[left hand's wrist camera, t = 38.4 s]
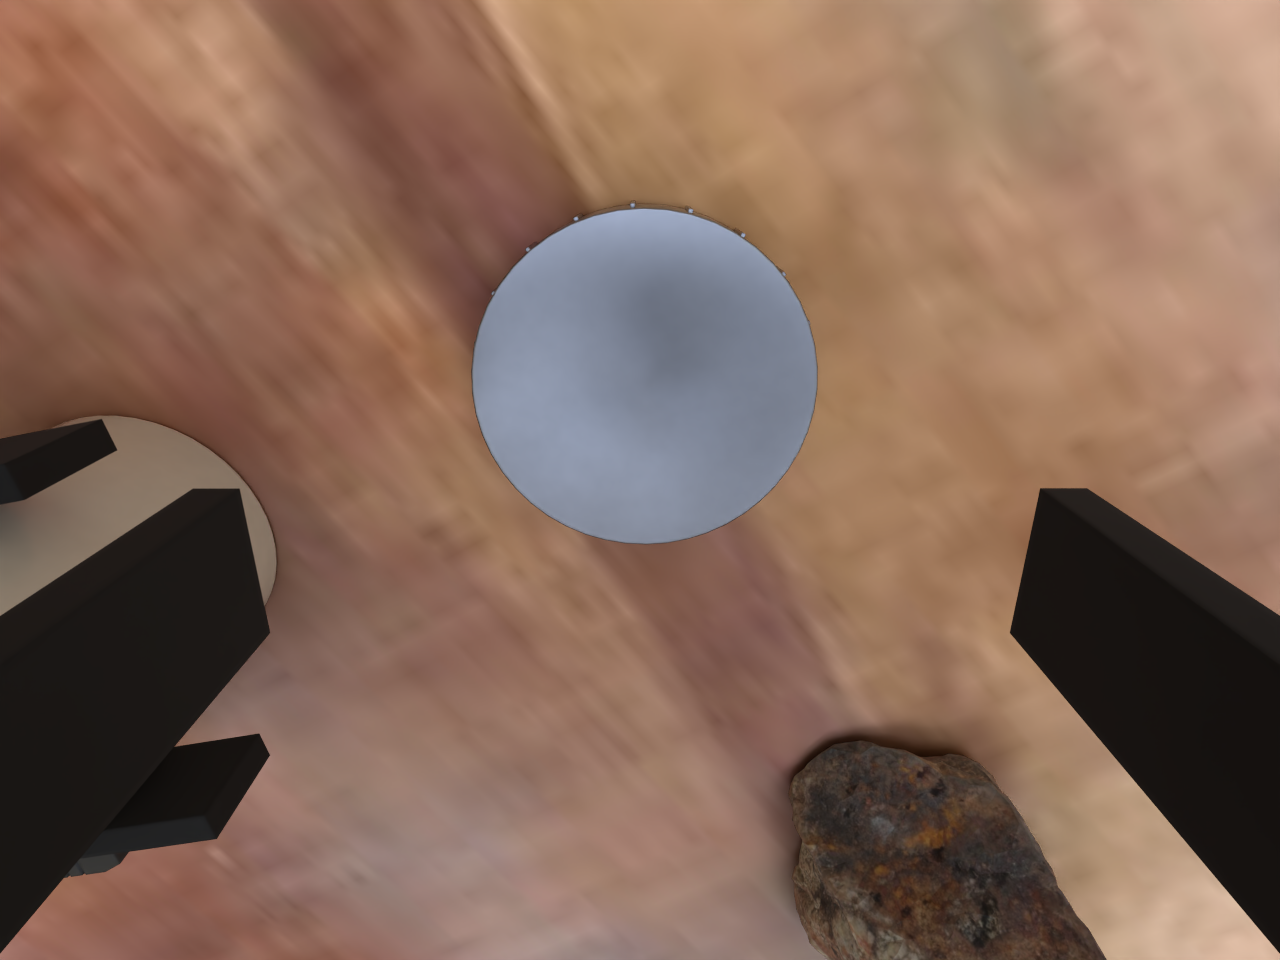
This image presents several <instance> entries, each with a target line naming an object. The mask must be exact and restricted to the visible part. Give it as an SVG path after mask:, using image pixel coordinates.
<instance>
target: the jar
mask: <svg viewBox="0 0 1280 960" xmlns="http://www.w3.org/2000/svg"><path fill="white" fill-rule="evenodd" d="M98 419H102V420H103V422H104V424H105V426H106V428H107V430H108V432H109V434H110V436H111V438H112V440H113V442H114V444H115V446H116V448H117V451H115V452H113V453H111V454H110V455H108V456H106V457H104V458H102V459H100V460H98V461H97V462H95V463H93V464H91V465H89V466H87V467H85V468H83V469H82V470H80V471H78V472H76V473H74V474H72V475H70V476H69V477H67V478H65V479H63V480H61V481H59V482H57V483H56V484H54V485H52V486H50V487H48V488H46V489H44V490H42V491H41V492H39V493H37V494H35V495H33V496H31V497H29V498H28V499H26V500H22V501H17V502H12V503H7V504H1V505H0V616H1V615H2V614H4V613H5V612H7V611H8V610H10V609H11V608H13V607H14V606H16V605H17V604H19V603H20V602H22V601H23V600H25V599H26V598H28V597H29V596H31V595H32V594H34V593H35V592H37V591H39V590H40V589H42V588H43V587H45V586H46V585H48V584H49V583H51V582H52V581H54V580H55V579H57V578H58V577H60V576H61V575H63V574H64V573H66V572H67V571H69V570H70V569H72V568H73V567H75V566H76V565H78V564H79V563H81V562H82V561H84V560H85V559H87V558H88V557H90V556H92V555H93V554H95V553H96V552H98V551H99V550H101V549H102V548H104V547H105V546H107V545H108V544H110V543H111V542H113V541H114V540H116V539H117V538H119V537H120V536H122V535H123V534H125V533H126V532H128V531H129V530H131V529H132V528H134V527H135V526H137V525H138V524H140V523H141V522H143V521H145V520H146V519H148V518H149V517H151V516H152V515H154V514H155V513H157V512H158V511H160V510H161V509H163V508H164V507H166V506H167V505H169V504H170V503H172V502H173V501H175V500H176V499H178V498H179V497H181V496H182V495H184V494H185V493H187V492H188V491H190V490H191V489H193V488H240V492H241V497H242V502H243V507H244V511H245V516H246V521H247V526H248V530H249V535H250V540H251V545H252V549H253V554H254V559H255V564H256V568H257V573H258V578H259V583H260V587H261V592H262V597H263V602H264V606H265V605H266V603H267V601H268V599H269V596H270V594H271V592H272V588H273V585H274V581H275V575H276V564H277V561H276V547H275V542H274V538H273V533H272V530H271V527H270V525H269V522H268V519H267V517H266V515H265V513H264V511H263V509H262V507H261V505H260V503H259V501H258V500H257V498H256V497H255V495H254V494H253V492H252V491H251V489H250V488H249V487H248V485H247V484H246V483H245V482H244V481H243V479H242V478H241V477H240V476H239V475H238V473H236V472H235V471H234V470H233V469H232V468H231V467H230V466H229V465H228V464H227V463H226V462H225V461H224V460H223V459H221V458H220V457H219V456H217V455H216V454H215V453H214V452H212V451H211V450H210V449H208V448H207V447H205V446H204V445H202V444H200V443H199V442H197V441H196V440H194V439H192V438H190V437H188V436H186V435H184V434H182V433H180V432H178V431H176V430H174V429H171V428H168V427H166V426H163V425H160V424H157V423H154V422H150V421H146V420H142V419H138V418H131V417H123V416H91V417H83V418H78V419H74V420H71V421H67V422H64V423H61V424H59V425H57V426H55V427H52V428H50V429H53V428H58V427H63V426H68V425H73V424H78V423H83V422H88V421H93V420H98Z"/></svg>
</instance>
